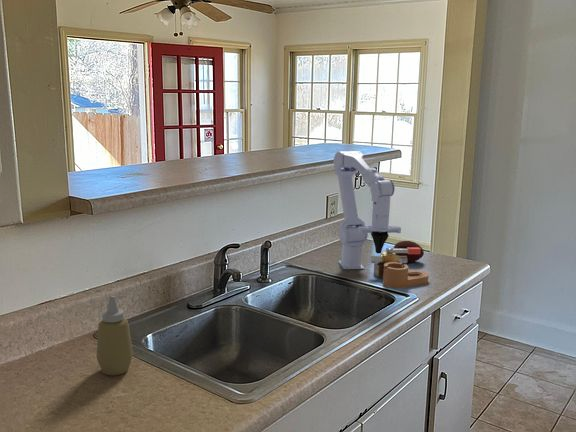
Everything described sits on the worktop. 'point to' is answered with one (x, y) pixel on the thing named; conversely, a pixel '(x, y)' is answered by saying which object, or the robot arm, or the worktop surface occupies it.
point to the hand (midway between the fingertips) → (378, 252)
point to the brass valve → (383, 259)
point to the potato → (409, 256)
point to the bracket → (402, 276)
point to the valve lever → (404, 250)
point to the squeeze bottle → (114, 341)
